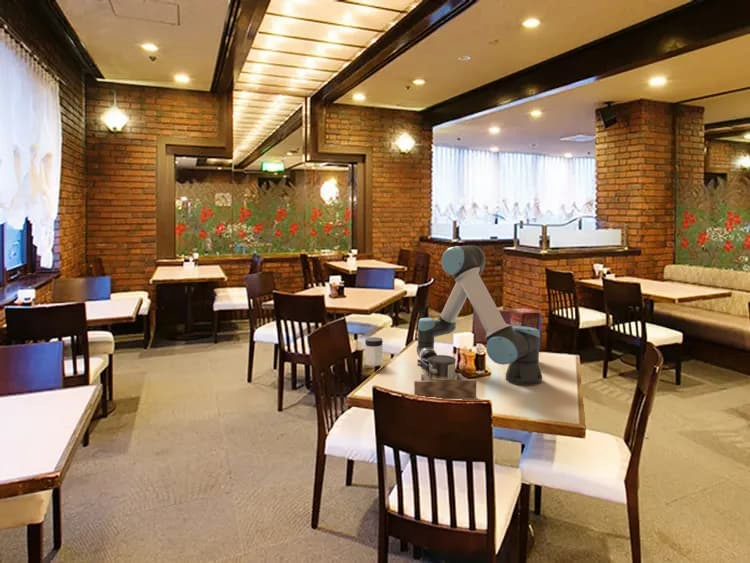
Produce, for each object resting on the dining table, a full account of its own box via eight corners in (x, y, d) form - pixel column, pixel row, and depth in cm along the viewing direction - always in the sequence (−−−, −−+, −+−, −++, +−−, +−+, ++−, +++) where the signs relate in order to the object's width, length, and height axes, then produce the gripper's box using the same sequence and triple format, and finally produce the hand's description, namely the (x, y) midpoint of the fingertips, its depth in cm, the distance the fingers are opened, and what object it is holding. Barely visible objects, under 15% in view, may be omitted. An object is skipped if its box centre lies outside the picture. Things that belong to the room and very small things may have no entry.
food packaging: (508, 357, 261) (509, 308, 257) (525, 356, 262) (527, 307, 259) (520, 365, 248) (522, 313, 244) (539, 364, 249) (541, 312, 246)
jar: (370, 367, 246) (370, 342, 244) (361, 363, 252) (361, 338, 251) (386, 364, 250) (386, 339, 249) (377, 360, 257) (377, 336, 256)
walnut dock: (469, 389, 215) (470, 372, 214) (476, 397, 205) (476, 380, 204) (411, 391, 213) (411, 374, 212) (414, 399, 203) (415, 382, 202)
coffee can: (435, 398, 204) (435, 363, 202) (424, 390, 214) (425, 356, 212) (459, 395, 207) (460, 361, 205) (448, 387, 217) (448, 353, 215)
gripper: (443, 365, 239) (454, 383, 216) (414, 365, 238) (422, 383, 215) (443, 349, 238) (454, 365, 215) (414, 349, 237) (422, 365, 214)
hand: (438, 374), depth 215 cm, fingers closed
